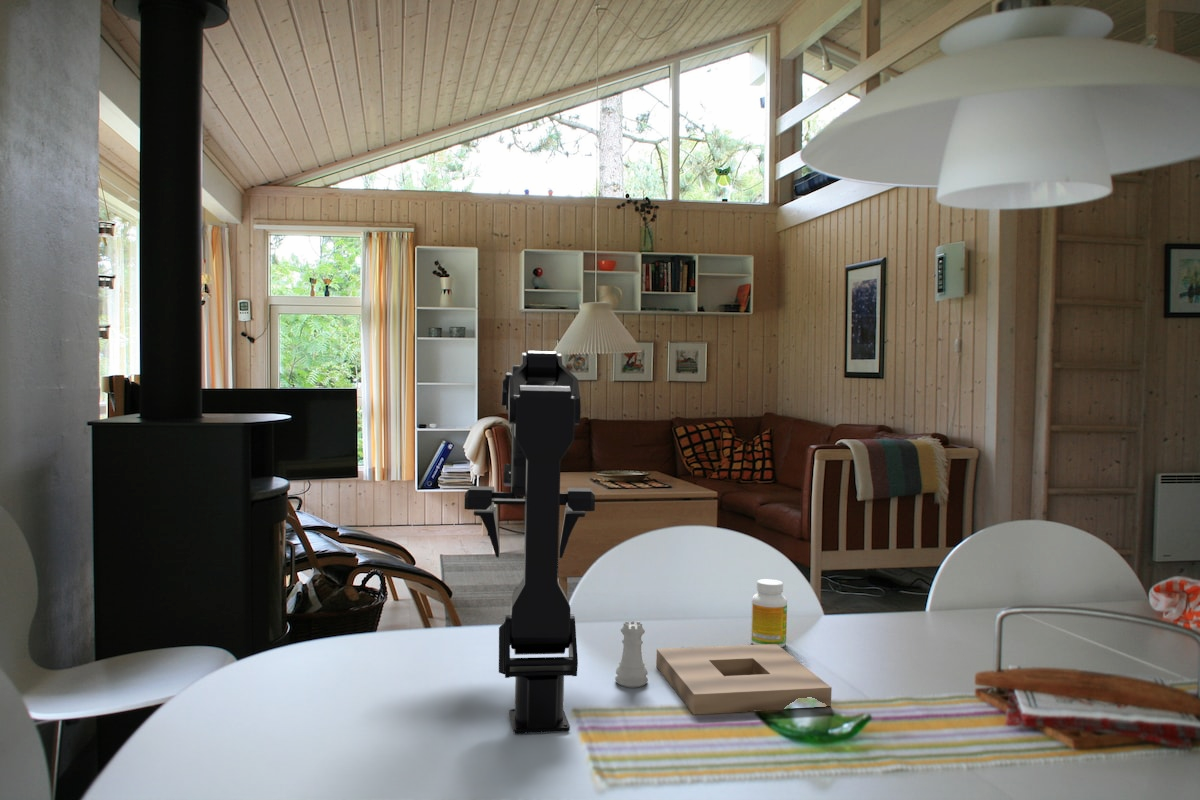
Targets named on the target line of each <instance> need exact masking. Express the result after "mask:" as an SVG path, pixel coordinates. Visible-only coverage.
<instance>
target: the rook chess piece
mask: <svg viewBox="0 0 1200 800" xmlns="http://www.w3.org/2000/svg"><path fill="white" fill-rule="evenodd" d="M645 631H646V630H645V628H644V627H643V623H641V622H640V621H637V622H636V624H635V620H631V621H630V622H629V621H625V622H623V626H622V627H621V628H620V632H621V634H622V636H623V639H622V641H621V642H622V644H623V648H622V654H621V659H620V662H619V663H618V664H619V666H618V667H617V668H616V670H615V674H616V676H615V678H614V679H615V682H616V683H617V684H618V685H619V686H621V687H624V688H629V689H630V688H632V689H633V688H635V689H636V688H640V687H644V686H645V685H646V684H647V683H648V681H649V678H648V677H647V676H648V674H649V673H648V669H647V667H646V665H645V664H646V663H644V661H643V656H642V645H643V643H644V641H643V640H642V637H643V635H644V634H645Z"/></svg>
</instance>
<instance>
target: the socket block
mask: <svg viewBox="0 0 1200 800" xmlns="http://www.w3.org/2000/svg"><path fill="white" fill-rule="evenodd" d="M655 659H656V661H655V662H656V664H655V665H656V668H657V669H658V670H659V671H660V673H661V674H662V676H663V677H664V678H665V679H666V681H667V683H669V684H670V686H671V687H672V689H674V691H675V693H676V694H677V695H678V697H680V699H681V701H683V703H684V704H685V706H687V708H688V709H689V711H690V712H691V713H692V714H693V715H695V716H696V715H710V714H711V715H713V714H729V713H749V712H748V711H751V712H755V711H754V710H766V711H767V712H768V711H782V710H781V709H784V708H785V707H786V706H787V705H789V704H790V703H792V702H794V701H795V700H796V699H798V698H807V697H812V698H815V699H817V700H818V701H820V702H822V703H825V704H826V705H827V706H831V707H832V691H833V690H832V689H833V688H832V686H830V684H828V683H826V682H825V681H824V680H823V679H821V678H820V677H819V676H818V675H816V674H815V673H814V672H813V671H812V670H810V669H809V668H808V667H807V666H805V664H803V663H801V662H800V661H799V660H798V659H796V658H795V657H794V656H793V655H791V654H790V653H789V652H787V651H786V650H785V649H784V648H783V647H780V646H778V645H777V644H763V645H754V644H743V645H740V644H739V645H720V646H719V645H717V646H713V645H712V646H694V647H665V648H662V647H661V648H656V658H655Z"/></svg>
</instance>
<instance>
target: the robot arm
mask: <svg viewBox="0 0 1200 800" xmlns="http://www.w3.org/2000/svg"><path fill="white" fill-rule="evenodd" d="M579 385H580V384H579V380H578V378H577V377H576V376H575V375H574V374H573V373H572V371H570V370H569V369H568V368H567V367H566V366H565V365H564V364H563V357H562V353H558V352H557V351H555V350H554V351H548V350H545V351H544V350H527V351H526V352H521V363H520V365H519V364H514V365H512V366H511V372H506V373H505V377H504V379H502V383H501V388H502V389H501V406H504V407H505V408H504V409H505V411H508V424H509V431H510V435H511V463H504V465H503V479H502V480H503V486H504V487H510V491H495V486H488V485H487V486H485V485H483V486H482V485H481V486H480V485H479V486H477V485H475V486H474V485H472V486H470V487H469V489H467V491H465V493H464V510H471V511H472V510H473V516H475V517H476V516H478V517H480V519H481V521H482V523H483V525H484V526H485V529H486V531H487V533H488V536H489V539H490V542H491V546H492V549H493V551H494V554H495V558H500V552H501V551H500V550H501V549H500V547H501V546H500V536H499V527H498V517H497V514H498V513H497V506H495V505H510V506H511V505H514V506H515V505H519V506H520V505H522V506H523V505H524V506H525V507H524V545H523V546H524V547H523V548H524V554H523V578H522V580H521V581H520V583H519V584H518V586H516V587H515V588H514V590H513V591H512V594H511V596H510V610H509V611H510V613H509V614H505V615H504V620H502V624H501V625H500V626H499V627H498V674H502V675H504V678H505V679H509V678H515V684H514V685H515V687H514V688H515V691H514V692H515V695H514V696H515V697H514V708H510V709H509V711H508V715H509V719H510V723H511V727H512V730H513V731H512V732H513V734H516V735H521V734H537V733H556V732H568V731H570V730H571V725H570V723H569V720H568V717H567V714H566V712H565V710H564V695H565V690H564V689H565V676H566V677H568V676H569V677H570V676H571V677H577V676H578V666H579V665H578V664H579V661H578V660H579V659H578V646H577V645H578V643H577V630H576V616H575V614H574V613H571V606H570V602H569V600H568V599H569V598H568V597H567V594H566V593H565V590H564V589H563V588H562V586H561V584H560V582H559V559H563V556H564V554H565V551H566V548H567V545H568V542H569V540H570V536H571V534H572V532H573V529H574V527H575V525H576V524H577V521H578V520H579V519H580V518H586V512H594V511H595V509H596V505H595V503H596V495H595V492H594V490H592V488H591V487H567V492H561V465H562V464H561V462H562V460H563V458H564V456H565V455H566V454H567V452H568V451H569V449H570V448H571V446H572V444H573V442H574V441H575V430H576V426H580V423H581V413H582V412H581V407H582V406H581V405H582V403H581V393H580V386H579ZM517 496H523V497H517ZM561 506H565V508H564V516H563V522H562V529H561V533H560V507H561ZM560 534H561V535H560ZM559 539H560V540H559ZM511 649H512V650H513V651H514V656H515V655H516V656H517V655H518V656H521V655H522V656H523V655H564V654H566V653H565V652H566V649H568V656H551V657H550V656H549V657H548V656H547V657H546V656H543V657H542V656H541V657H511Z"/></svg>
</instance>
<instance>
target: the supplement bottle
mask: <svg viewBox="0 0 1200 800" xmlns="http://www.w3.org/2000/svg"><path fill="white" fill-rule="evenodd" d="M756 590H757V593H755V594H754V595H753V596H752V599H751V616H750V617H751V621H750V622H751V623H750V626H751V627H750V642H751V645H763V644H777V645H778V646H780V647H781V648H783V647H786V644H787V620H788V619H787V618H788V617H787V616H788V599H787V597H785V595H783V594H782V593H783V592H784V582H782V581H781V580H779V579H773V578H772V579H771V578H762V579H758V580H757V581H756Z"/></svg>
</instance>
